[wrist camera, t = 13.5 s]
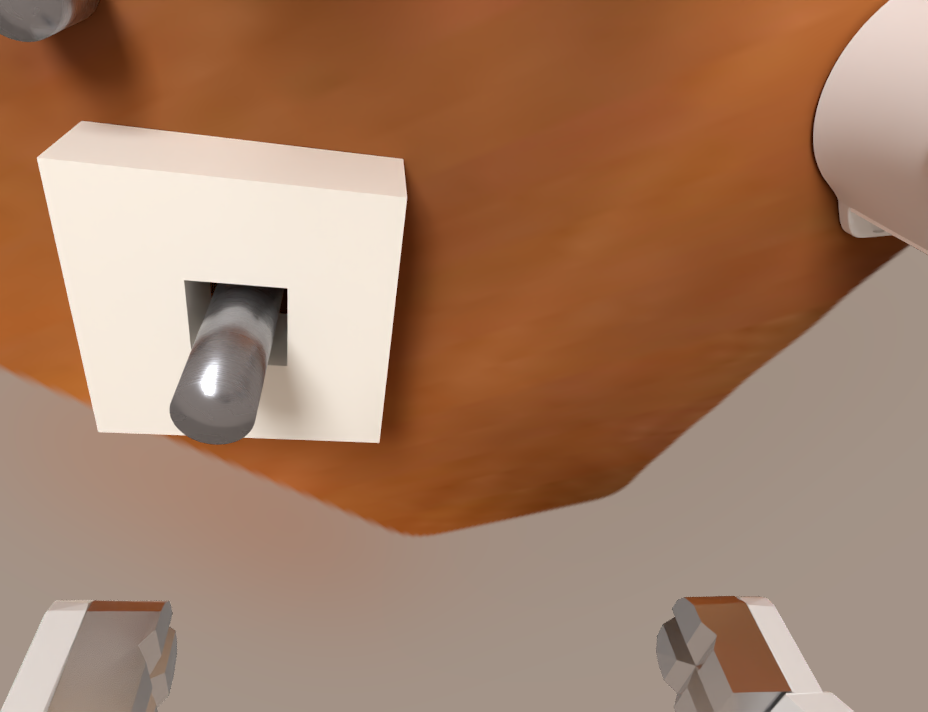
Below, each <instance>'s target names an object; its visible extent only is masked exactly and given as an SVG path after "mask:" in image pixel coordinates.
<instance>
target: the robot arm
mask: <svg viewBox="0 0 928 712" xmlns="http://www.w3.org/2000/svg"><path fill="white" fill-rule="evenodd" d="M813 145H814V153H815V158H816V162H817V165H818V167H819V170H820V172H821V174H822V176H823V177H824V179H825V180H826V182H827V183H828V184H829V186H830V187H831V188H832V190H833V191H834V193H835V194H836V196H837V198H838V205H839V217H840V223H841V226H842V228H843V230H844V231H845V232H847V233H849V234H851V235H853V236H855V237H858V238H866V237H878V236H889V235H893V236H895V237H897V238H898V239H900V240H902V241H904V242H906V243H907V244H909V245H911V246H913V247H914V248H916V249H918V250H920V251H922V252H924V253H925V254H927V255H928V0H890V1H888V2H887V3H886V4H885V5H884V6H883V7H881V8H880V9H879V10H878V11H877V12H876V13H875V14H874V15H873V16H872V17H871V18H870V19H869V20H868V21H867V22H866V23H865V24H864V25H863V26H862V28H861V29H860V30H859V31H858V32H857V33H856V35H855V36H854V37H853V38H852V40H851V41H850V42H849V44H848V45H847V47H846V48H845V49H844V51H843V52H842V54H841V56H840V57H839V59H838V60H837V62H836V64H835V66H834V67H833V69H832V71H831V73H830V75H829V77H828V79H827V81H826V84H825V86H824V88H823V91H822V94H821V97H820V100H819V103H818V107H817V111H816V115H815V121H814V130H813ZM672 610H673V613H674V615H675V617H674V618H672V619H671V620H669V621H667V622H666V623H664V624H663V625H662V627H661V629H660V631H659V633H658V635H657V647H656V653H657V659H658V664H659V668H660V670H661V673H662V676H663V679H664V681H665V682H666V683H667V684H668V685H669V686H670V687H671V688H672V689H673V690H674V691H675V692H676V693H677V697H676V701H675V705H674V709H675V712H854V711H853V710H852V709H851V708H849V707H848V706H847V705H846V704H845V703H843V702H842V701H841V700H840V699H839V698H838V697H836V696H835V695H834V694H833V693H832V692H824V691H822V690H821V688H820V686H819V684H818V682H817V681H816V679H815V677H814V675H813V674H812V672H811V670H810V668H809V666H808V665H807V663H806V661H805V659H804V658H803V656H802V654H801V652H800V650H799V649H798V647H797V645H796V643H795V641H794V640H793V638H792V636H791V634H790V633H789V631H788V629H787V627H786V626H785V624H784V622H783V620H782V618H781V617H780V615H779V613H778V611H777V610H776V608H775V606H774V605H773V603H772V602H770V601H769V600H768V599H767V598H765V597H760V596H747V597H735V596H718V597H717V596H716V597H684V598H681V599H679V600H677V602H676V604H675V605H674V606H673V608H672ZM172 614H173V613H172V609H171V604H170V601H96V600H63V601H61V600H60V601H54V603H53V604H52V605H51V606H50V608H49V609H48V610H47V611H46V613H45V615H44V617H43V619H42V621H41V623H40V625H39V628H38V630H37V632H36V634H35V637H34V639H33V641H32V643H31V645H30V648H29V650H28V652H27V654H26V657H25V659H24V661H23V663H22V665H21V667H20V670H19V672H18V674H17V676H16V679H15V681H14V683H13V685H12V687H11V689H10V692H9V694H8V696H7V698H6V701H5V703H4V705H3V707H2V709H1V711H0V712H158V711H157V707H158V706H159V705H160V704H161V703H162V702H163V701H164V700H165V699H166V698H167V697H168V696H169V693H170V689H171V685H172V681H173V677H174V671H175V664H176V657H177V637H176V631H175V630H174V629H172V628H171V627H169V625H170V621H171V618H172Z"/></svg>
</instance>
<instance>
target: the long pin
mask: <svg viewBox="0 0 928 712" xmlns="http://www.w3.org/2000/svg"><path fill="white" fill-rule="evenodd" d="M284 289H285V288H277V287H264V286H252V285H239V284H226V283H217V286H216V288H215V291H214V293H213V296H212V298H211V301H210V304H209V306H208V309H207V311H206V314H205V316H204V319H203V321H202V324H201V327H200V329H199V332H198V334H197V337H196V339H195V342H194V344H193V347H192V350H191V352H190V355H189V357H188V360H187V362H186V365H185V367H184V370H183V372H182V375H181V378H180V380H179V383H178V385H177V388H176V390H175V393H174V395H173V398H172V401H171V403H170V408H169V410H170V417H171V419H172V421H173V423H174V425H175V426H176V427H177V428H178V429H179V430H180V431H181V432H182V433H183V434H185V435H186V436H188V437H190V438H192V439H194V440H196V441H199V442H203V443H207V444H228V443H232V442H235V441H238V440H240V439H242V438H243V437H245V436H246V435H247V434H248V433H249V432H250V431H251V430H252V428H253V426H254V423H255V419H256V415H257V410H258V406H259V401H260V397H261V392H262V388H263V383H264V379H265V374H266V370H267V365H268V361H269V356H270V352H271V347H272V343H273V338H274V334H275V329H276V325H277V320H278V316H279V311H280V307H281V302H282V298H283V293H284Z"/></svg>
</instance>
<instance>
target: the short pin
mask: <svg viewBox="0 0 928 712" xmlns="http://www.w3.org/2000/svg"><path fill="white" fill-rule="evenodd" d="M99 2H100V0H0V34H1V35H3V36H6V37H8V38H11V39H14V40H18V41H24V42H34V41H39V40H42V39H45V38H47V37H49V36H51V35H53V34H55V33H58V32H60V31H62V30H64V29H66V28H68V27H70V26H72V25H74V24H77V23H79V22H81V21H83V20H85V19H87V18H88V17H90V16H91V15H92V14H93V13H94V12H95V10H96V9H97V7H98V4H99Z"/></svg>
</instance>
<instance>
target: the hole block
mask: <svg viewBox="0 0 928 712" xmlns="http://www.w3.org/2000/svg"><path fill="white" fill-rule="evenodd" d="M37 161H38V165H39V170H40V174H41V179H42V183H43V187H44V192H45V196H46V201H47V205H48V210H49V214H50V219H51V223H52V228H53V232H54V237H55V241H56V245H57V250H58V254H59V259H60V263H61V268H62V272H63V277H64V281H65V286H66V290H67V295H68V299H69V304H70V308H71V312H72V317H73V321H74V326H75V330H76V335H77V339H78V344H79V348H80V353H81V357H82V362H83V366H84V370H85V375H86V379H87V384H88V388H89V393H90V397H91V402H92V406H93V411H94V415H95V419H96V424H97V428H98V432H113V433H138V434H164V435H185V434H183V433H182V432H181V431H180V430H179V429H178V428H177V427H176V426H175V425H174V423H173V421H172V419H171V417H170V410H169V408H170V403H171V401H172V398H173V395H174V393H175V390H176V388H177V385H178V383H179V380H180V378H181V375H182V372H183V370H184V367H185V365H186V362H187V360H188V357H189V355H190V352H191V350H192V347H193V344H194V342H195V339H196V337H197V334H198V332H199V329H200V327H201V324H202V321H203V319H204V316H205V314H206V311H207V309H208V306H209V304H210V301H211V286H210V282H214V283H226V284H239V285H252V286H264V287H277V288H288V314H283V313H279V316H278V320H277V325H276V329H275V334H274V338H273V343H272V347H271V352H270V356H269V361H268V365H267V370H266V374H265V379H264V383H263V388H262V392H261V397H260V401H259V406H258V410H257V415H256V419H255V423H254V426H253V428H252V430H251V431H250V432H249V433H248V434H247V435H246V436H245V437H243V438H267V439H293V440H319V441H345V442H371V443H379V441H380V433H381V424H382V415H383V406H384V397H385V389H386V380H387V371H388V362H389V353H390V345H391V336H392V327H393V318H394V309H395V301H396V292H397V283H398V274H399V265H400V257H401V248H402V239H403V230H404V221H405V213H406V204H407V191H406V181H405V171H404V162H403V159H399V158H390V157H382V156H373V155H365V154H357V153H348V152H340V151H331V150H323V149H314V148H306V147H298V146H289V145H281V144H272V143H264V142H256V141H247V140H239V139H230V138H222V137H213V136H205V135H197V134H188V133H180V132H171V131H163V130H155V129H146V128H138V127H129V126H121V125H113V124H104V123H96V122H87V121H81V122H80V123H79V124H77V125H76V126H75V127H74V128H72V129H71V130H70V131H69V132H68V133H66V134H65V135H64V136H63V137H61V138H60V139H59V140H58V141H57V142H55V143H54V144H53V145H52V146H50V147H49V148H48V149H47V150H46V151H44V152H43V153H42V154H41V155H39V156H38V157H37Z"/></svg>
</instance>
